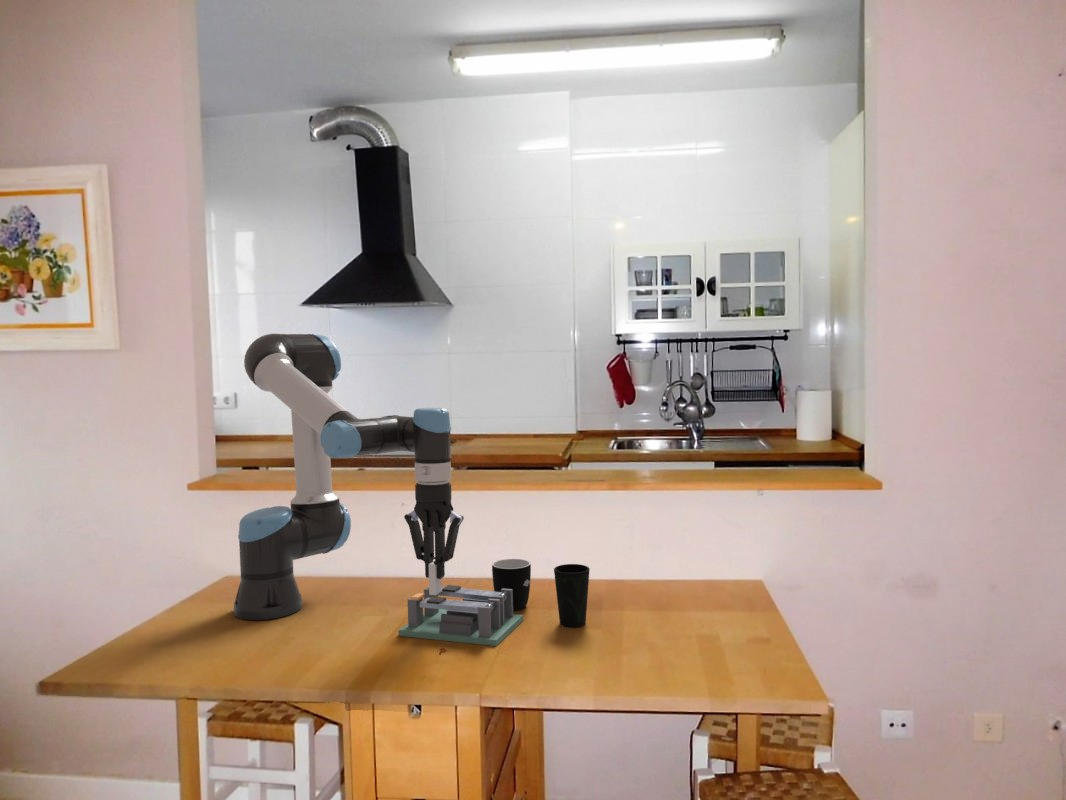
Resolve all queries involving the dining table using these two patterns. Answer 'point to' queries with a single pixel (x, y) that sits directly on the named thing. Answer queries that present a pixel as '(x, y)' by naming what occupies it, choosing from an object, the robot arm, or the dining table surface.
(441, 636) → the socket board
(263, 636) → the dining table surface
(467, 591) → the strap far
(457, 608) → the strap near
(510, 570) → the mug
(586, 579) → the cup
